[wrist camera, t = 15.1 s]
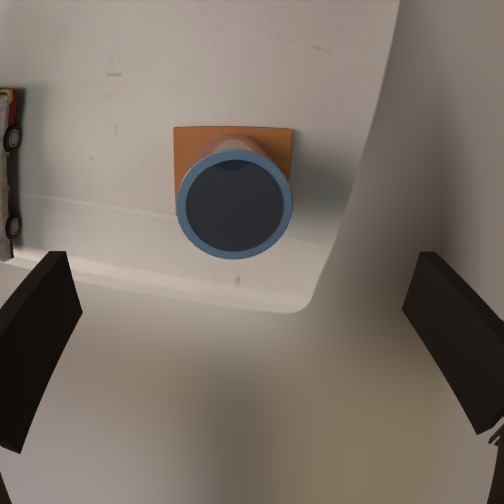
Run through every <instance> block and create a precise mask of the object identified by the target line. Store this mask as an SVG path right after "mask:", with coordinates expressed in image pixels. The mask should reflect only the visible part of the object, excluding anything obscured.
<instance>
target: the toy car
mask: <svg viewBox="0 0 504 504" xmlns="http://www.w3.org/2000/svg"><path fill="white" fill-rule="evenodd" d="M16 104H17V89H15V88H0V261H2V262H5V261H7V260H9V259H12V258H14V254H13V245H12V238H14V237H16V236H17V235H18V232H19V230H20V218H19V217H18V216H17V215H16V214H12V213H11V211H10V181H9V153H8V152H6V151H13V150H15V149H16V148H17V146H18V145H19V142H20V139H21V132H20V129H19V127H18V126H14V125H12V124H14V122H15V113H16Z"/></svg>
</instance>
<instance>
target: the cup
mask: <svg viewBox="0 0 504 504" xmlns="http://www.w3.org/2000/svg"><path fill="white" fill-rule="evenodd" d="M292 209H293V199H292V192H291V189H290V185H289V183H288V181H287V179H286V177H285V175H284V174H283V172H282V171H281V170H280V168H279V167H278V166H277V164H276V163H275V162H274V160H273V159H272V158H271V156H270V155H269V154H268V153H267V151H266V150H265V149H264V148H263V146H262V145H261V144H260V143H258V142H257V141H256V140H254V139H252V138H250V137H248V136H245V135H242V134H235V133H230V134H223V135H219V136H216V137H214V138H212V139H210V140H209V141H207V142H206V143H205V144H204V145H203V146H202V147H201V148H200V149H199V151H198V152H197V153H196V155H195V157H194V159H193V161H192V162H191V164H190V166H189V168H188V170H187V171H186V173H185V175H184V177H183V179H182V181H181V183H180V185H179V188H178V191H177V196H176V214H177V218H178V222H179V224H180V226H181V229H182V230H183V232H184V234H185V235H186V236H187V238H188V239H189V240H190V241H191V242H192V243H193V244H194V245H195V246H196V247H198V248H199V249H200V250H202V251H204V252H205V253H207V254H210V255H212V256H215V257H219V258H224V259H243V258H249V257H252V256H255V255H257V254H260V253H262V252H264V251H265V250H267V249H268V248H270V247H271V246H272V245H274V244H275V243H276V242H277V241H278V240H279V238H280V237H281V236H282V235H283V233H284V232H285V230H286V228H287V226H288V224H289V222H290V218H291V215H292Z"/></svg>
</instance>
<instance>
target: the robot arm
mask: <svg viewBox="0 0 504 504" xmlns="http://www.w3.org/2000/svg"><path fill="white" fill-rule="evenodd" d="M402 311H403V312H404V314H405V315H406V317H407V318H408V320H409V321H410V323H411V324H412V326H413V327H414V329H415V330H416V332H417V333H418V335H419V336H420V338H421V339H422V341H423V343H424V344H425V346H426V347H427V349H428V350H429V352H430V354H431V355H432V357H433V358H434V360H435V362H436V363H437V365H438V367H439V368H440V370H441V371H442V373H443V375H444V376H445V378H446V379H447V382H448V383H449V385H450V387H451V388H452V390H453V392H454V394H455V395H456V397H457V399H458V401H459V402H460V404H461V406H462V408H463V409H464V411H465V413H466V415H467V417H468V419H469V421H470V422H471V424H472V426H473V428H474V430H475V432H476V434H477V435H478V434H481V433H483V432H485V431H487V430H489V429H491V428H493V427H494V426H495V424H496V423H497V422H498V421H499V420H500V419H501V418H502V416H503V417H504V321H503V320H501V319H500V318H498V316H497V315H496V314H495V313H494V312H493V310H492V309H491V308H490V307H489V306H488V305H487V304H486V303H485V302H484V301H483V299H481V297H480V296H479V295H478V294H477V293H476V292H475V291H474V290H473V289H472V288H471V287H470V286H469V285H468V284H467V283H466V282H465V281H464V280H463V279H462V278H461V277H460V276H459V275H458V274H457V273H456V272H455V271H454V270H453V269H452V268H451V267H450V266H449V265H448V264H447V263H446V262H445V261H444V260H443V259H442V258H441V257H440V256H439V255H438V254H437V253H435V252H420V254H419V258H418V261H417V264H416V267H415V271H414V274H413V277H412V280H411V283H410V287H409V290H408V292H407V296H406V298H405V301H404V304H403V307H402ZM82 313H83V311H82V309H81V305H80V302H79V299H78V296H77V292H76V289H75V285H74V281H73V278H72V274H71V270H70V266H69V262H68V258H67V254H66V251H49V252H48V253H47V254H46V255H45V257H44V258H43V259H42V260H41V261H40V262H39V263H38V264H37V265H36V267H35V268H34V269H33V270H32V271H31V272H30V273H29V275H28V276H27V277H26V278H25V279H24V280H23V282H22V283H21V284H20V285H19V286H18V288H17V289H16V290H15V291H14V292H13V294H12V295H11V296H10V297H9V299H8V300H7V301H6V302H5V304H4V305H3V306H2V307H1V309H0V445H1V446H2V447H4V448H6V449H8V450H11V451H14V452H16V453H19V454H20V453H21V451H22V448H23V445H24V442H25V439H26V436H27V434H28V431H29V428H30V426H31V423H32V421H33V418H34V415H35V413H36V410H37V408H38V406H39V403H40V401H41V398H42V396H43V393H44V391H45V389H46V387H47V384H48V382H49V380H50V378H51V375H52V373H53V371H54V369H55V367H56V365H57V362H58V360H59V358H60V356H61V354H62V352H63V350H64V348H65V346H66V344H67V342H68V340H69V338H70V336H71V334H72V332H73V330H74V328H75V326H76V324H77V322H78V320H79V318H80V317H81V315H82ZM498 436H500V438H499V439H498V440H497V441H496V442H495V444H494V445H496V446H498V453H497V460H496V465H495V470H494V475H493V480H492V485H491V489H490V493H489V497H488V501H487V504H504V424H503V425H502V426H501V427H500V428H499V429H498V430H497V431H496V432H495V434H494V435H493V436H492V437H491V438H490V439H489V442H488V443H489V444H491V443H492V442H493V441H494V440H495V439H496V438H497V437H498ZM0 504H12V503H11V500H10V498H9V495H8V492H7V490H6V487H5V484H4V482H3V479H2V476H1V473H0Z"/></svg>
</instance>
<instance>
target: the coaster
mask: <svg viewBox="0 0 504 504" xmlns="http://www.w3.org/2000/svg"><path fill="white" fill-rule="evenodd" d="M173 133H174V177H175V201H176V196H177V191H178V188H179V185H180V183H181V181H182V179H183V177H184V175H185V173H186V171H187V170H188V168H189V166H190V164H191V162H192V161H193V159H194V157H195V155H196V153H197V152H198V151H199V149H200V148H201V147H202V146H203V145H204V144H205V143H206V142H207V141H209V140H210V139H212V138H214V137H216V136H219V135H223V134H230V133H235V134H242V135H245V136H248V137H250V138H252V139H254V140H256V141H257V142H258V143H260V144H261V145H262V146H263V148H264V149H265V150H266V151H267V153H268V154H269V155H270V156H271V158H272V159H273V160H274V162H275V163H276V164H277V166H278V167H279V168H280V170H281V171H282V172H283V174H284V175H285V177H286V179H287V181H288V183H289V174H290V160H291V145H292V129H288V128H270V127H237V126H202V127H175V128H174V129H173ZM176 216H177V214H176Z"/></svg>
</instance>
